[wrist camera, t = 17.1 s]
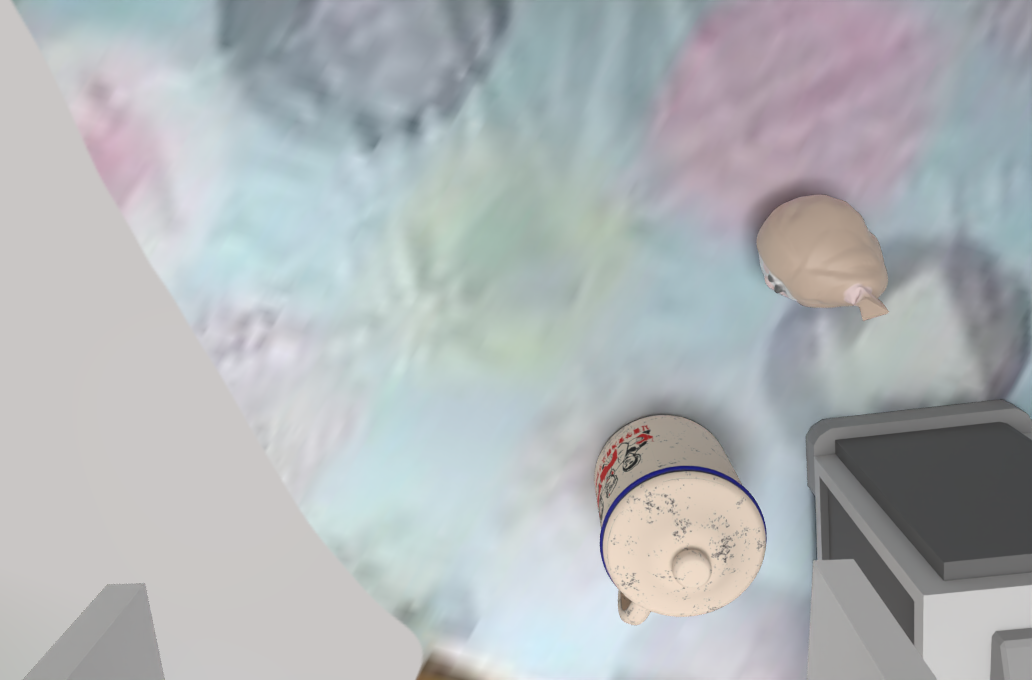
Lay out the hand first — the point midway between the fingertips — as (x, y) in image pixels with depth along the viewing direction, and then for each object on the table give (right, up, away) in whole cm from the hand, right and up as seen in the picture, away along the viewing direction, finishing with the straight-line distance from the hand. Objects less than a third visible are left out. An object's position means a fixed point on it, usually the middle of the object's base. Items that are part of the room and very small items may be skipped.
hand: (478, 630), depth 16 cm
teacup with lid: (+10, -4, +37) cm, 39 cm away
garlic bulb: (+18, +11, +33) cm, 39 cm away
